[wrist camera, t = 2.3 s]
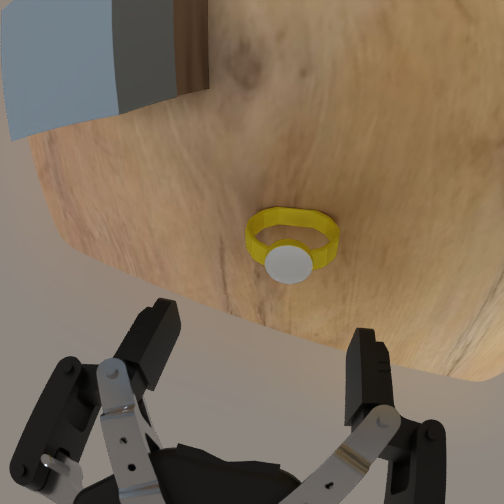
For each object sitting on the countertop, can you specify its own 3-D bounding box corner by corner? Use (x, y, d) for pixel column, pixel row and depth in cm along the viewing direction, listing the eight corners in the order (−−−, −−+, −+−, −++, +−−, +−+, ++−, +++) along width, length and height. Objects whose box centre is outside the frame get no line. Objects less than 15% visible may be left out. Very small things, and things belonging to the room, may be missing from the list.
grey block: (172, -37, 8) (115, -64, 4) (177, 96, 13) (119, 114, 9) (62, 7, 10) (1, 10, 6) (70, 115, 14) (11, 141, 10)
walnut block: (208, -18, 12) (174, -38, 8) (209, 88, 17) (176, 96, 13) (109, 7, 14) (63, 4, 10) (113, 99, 18) (69, 113, 14)
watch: (337, 201, 20) (348, 249, 15) (332, 234, 22) (340, 288, 17) (252, 195, 21) (237, 242, 16) (253, 229, 22) (239, 281, 18)
